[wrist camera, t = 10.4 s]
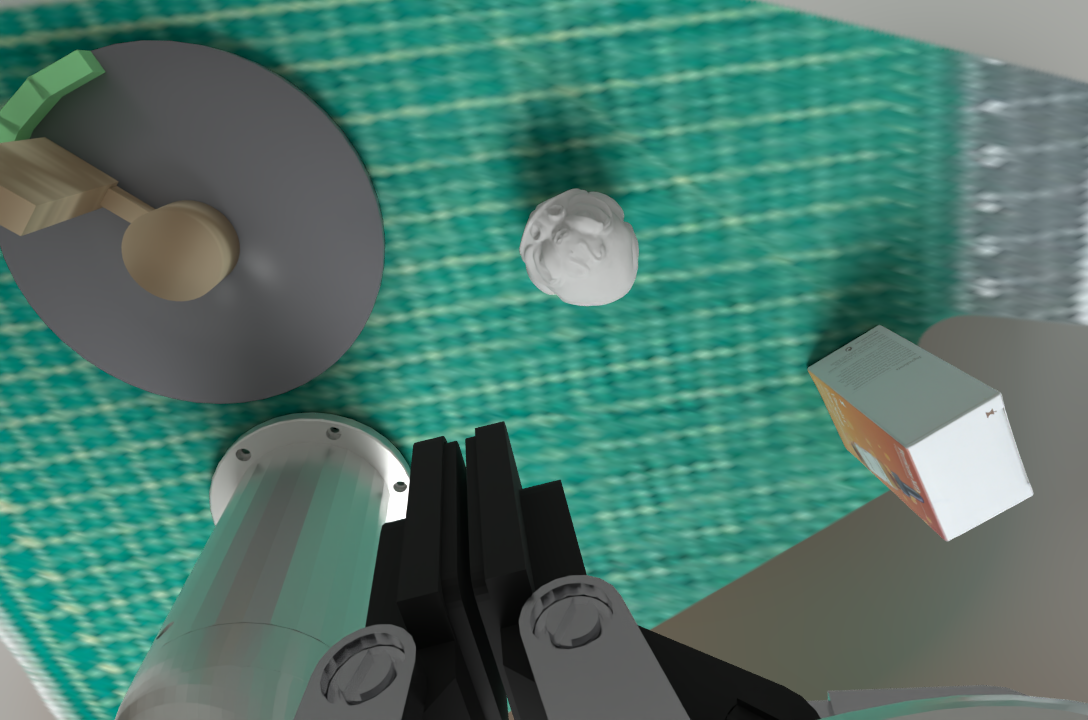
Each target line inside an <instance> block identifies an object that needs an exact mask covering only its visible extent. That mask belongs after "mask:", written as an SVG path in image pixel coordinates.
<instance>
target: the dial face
mask: <svg viewBox="0 0 1088 720" xmlns="http://www.w3.org/2000/svg"><path fill="white" fill-rule="evenodd" d="M42 137H46V138H47V139H49V140H51V141H52V142H54V143H56V144H57V145H59V146H61V147H62V148H64V149H66V150H67V151H69V152H71V153H72V154H74V155H76V156H77V157H79V158H80V159H82V160H84V161H85V162H87V163H89V164H90V165H92V166H94V167H95V168H97V169H99V170H100V171H102V172H104V173H105V174H107V175H109V176H110V177H112V178H114V179H115V180H117V181H119V182H118V184H117V186H118V187H119V188H121V189H123V190H124V191H126V192H128V193H129V194H131V195H133V196H134V197H136V198H138V199H139V200H141V201H143V202H144V203H146V204H148V205H149V206H151V207H153V208H154V209H158V208H160V207H163V206H165V205H167V204H170V203H172V202H176V201H181V200H192V201H198V202H202V203H205V204H207V205H210V206H211V207H213V208H215V209H217V210H218V211H219V212H221V213H222V214H223V215H224V216H225V217H226V218H227V219H228V220H229V221H230V223H231V224H232V226H233V227H234V229H235V231H236V233H237V236H238V239H239V245H240V254H239V259H238V262H237V264H236V266H235V268H234V269H233V270H232V272H231V273H230V274H229V275H228V276H226V277H225V278H224V279H223V280H222V281H221V282H219V283H218V284H217V285H216V286H215V287H214V288H212V289H211V290H210V291H209V292H207V293H206V294H205V295H203V296H201V297H199V298H196V299H194V300H189V301H171V300H166V299H162V298H160V297H157V296H155V295H153V294H151V293H149V292H148V291H146V290H145V289H143V288H142V287H141V286H140V285H139V284H138V283H137V282H136V281H135V280H134V279H133V278H132V277H131V275H130V274H129V272H128V270H127V268H126V266H125V264H124V261H123V257H122V248H121V246H122V239H123V236H124V233H125V231H126V229H127V228H128V226H129V225H130V224H131V223H130V222H128V221H126V220H124V219H123V218H121V217H119V216H118V215H116V214H114V213H112V212H111V211H109V210H107V209H106V208H104V207H103V208H100V209H97V210H94V211H91V212H88V213H86V214H83V215H80V216H77V217H74V218H71V219H69V220H66V221H63V222H60V223H57V224H54V225H52V226H49V227H46V228H43V229H40V230H37V231H35V232H32V233H29V234H26V235H23V236H19V235H18V234H16V233H14V232H12V231H10V230H8V229H7V228H5V227H3V226H1V225H0V247H1V250H2V253H3V256H4V259H5V261H6V263H7V265H8V267H9V269H10V271H11V274H12V276H13V278H14V280H15V282H16V284H17V285H18V287H19V288H20V290H21V291H22V293H23V295H24V296H25V298H26V299H27V301H28V302H29V304H30V305H31V306H32V308H33V309H34V310H35V311H36V313H37V314H38V315H39V316H40V318H41V319H42V320H43V321H44V323H45V324H46V325H47V326H48V327H49V328H50V329H51V330H52V331H53V332H54V333H55V334H56V335H57V336H58V337H59V338H60V339H61V340H62V341H63V342H64V343H66V344H67V345H68V346H69V347H71V348H72V349H73V350H74V351H76V352H77V353H78V354H79V355H80V356H82V357H83V358H84V359H86V360H87V361H89V362H90V363H92V364H94V365H95V366H97V367H98V368H100V369H101V370H103V371H104V372H106V373H108V374H110V375H112V376H114V377H116V378H118V379H120V380H122V381H124V382H126V383H128V384H130V385H133V386H135V387H138V388H141V389H143V390H146V391H148V392H151V393H155V394H158V395H162V396H166V397H169V398H173V399H178V400H185V401H191V402H197V403H214V404H226V403H243V402H249V401H255V400H261V399H265V398H269V397H272V396H276V395H279V394H282V393H285V392H288V391H290V390H292V389H294V388H297V387H299V386H301V385H303V384H305V383H307V382H308V381H310V380H312V379H313V378H315V377H317V376H318V375H320V374H322V373H323V372H324V371H325V370H327V369H328V368H329V367H330V366H331V365H333V364H334V363H335V362H336V361H338V359H339V358H340V357H341V356H342V355H343V354H344V353H345V352H346V351H347V350H348V349H349V348H350V347H351V345H352V344H353V343H354V341H355V340H356V338H357V337H358V335H359V334H360V332H361V331H362V330H363V328H364V326H365V324H366V322H367V320H368V318H369V316H370V314H371V312H372V309H373V306H374V304H375V301H376V298H377V295H378V292H379V289H380V286H381V280H382V275H383V269H384V261H385V235H384V225H383V218H382V214H381V210H380V205H379V201H378V197H377V194H376V192H375V189H374V186H373V184H372V181H371V178H370V176H369V174H368V172H367V170H366V168H365V166H364V164H363V162H362V160H361V158H360V156H359V154H358V153H357V151H356V150H355V148H354V147H353V145H352V144H351V142H350V141H349V139H348V138H347V136H346V135H345V133H344V132H343V131H342V130H341V129H340V127H339V126H338V125H337V124H336V123H335V122H334V120H333V119H332V118H331V117H330V116H329V115H328V114H327V112H326V111H324V110H323V109H322V108H321V107H320V106H319V105H318V104H317V103H316V102H315V101H314V100H312V99H311V98H310V97H309V96H308V95H307V94H306V93H304V92H303V91H302V90H300V89H299V88H297V87H296V86H295V85H293V84H292V83H291V82H289V81H288V80H286V79H285V78H284V77H282V76H280V75H278V74H276V73H275V72H273V71H271V70H269V69H267V68H266V67H264V66H262V65H260V64H258V63H256V62H253V61H251V60H248V59H246V58H244V57H241V56H239V55H236V54H234V53H230V52H227V51H223V50H219V49H216V48H212V47H208V46H203V45H196V44H189V43H182V42H175V41H144V40H141V41H134V42H126V43H119V44H113V45H109V46H106V47H102V48H99V49H96V50H92V51H86V50H75V51H74V52H72V53H70V54H69V55H67V56H65V57H63V58H62V59H60V60H58V61H56V62H55V63H53V64H51V65H49V66H48V67H46V68H44V69H42V70H41V71H39V72H37V73H35V74H34V75H32V76H29V77H28V78H27V80H26V81H25V82H24V83H23V85H22V86H21V87H20V88H19V89H18V90H17V92H16V93H15V94H14V95H13V96H12V97H11V99H10V100H9V101H8V102H7V103H6V105H5V106H4V107H3V108H2V109H1V110H0V143H4V142H11V141H19V140H27V139H34V138H42Z"/></svg>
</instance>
